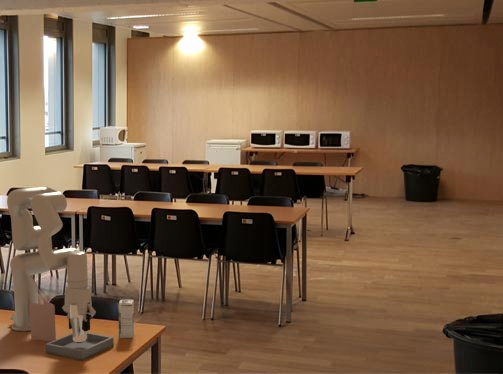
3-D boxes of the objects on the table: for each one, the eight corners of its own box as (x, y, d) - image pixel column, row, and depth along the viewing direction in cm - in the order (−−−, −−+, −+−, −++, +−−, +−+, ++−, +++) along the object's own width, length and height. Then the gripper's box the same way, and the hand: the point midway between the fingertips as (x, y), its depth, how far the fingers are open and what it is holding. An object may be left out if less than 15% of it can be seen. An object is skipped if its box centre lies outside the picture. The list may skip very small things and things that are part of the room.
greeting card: (58, 341, 287) (56, 304, 285) (39, 345, 282) (38, 308, 280) (47, 334, 296) (45, 298, 294) (29, 337, 291) (27, 301, 289)
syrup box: (120, 333, 295) (119, 299, 294) (134, 333, 296) (133, 299, 294) (118, 338, 290) (117, 303, 288) (133, 338, 290) (132, 303, 288)
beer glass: (84, 344, 273) (82, 305, 271) (67, 343, 274) (65, 305, 272) (92, 338, 280) (90, 300, 278) (75, 337, 281) (73, 300, 279)
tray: (46, 352, 274) (45, 344, 273) (78, 338, 289) (78, 330, 289) (82, 360, 265) (82, 351, 265) (113, 345, 281) (113, 337, 280)
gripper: (53, 283, 275) (55, 328, 277) (88, 288, 267) (90, 335, 269) (67, 279, 282) (69, 323, 284) (102, 284, 273) (103, 329, 275)
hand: (79, 328), depth 276 cm, fingers closed on beer glass, 6 cm apart
